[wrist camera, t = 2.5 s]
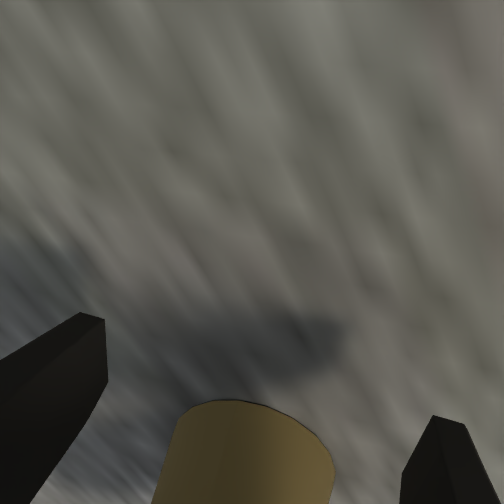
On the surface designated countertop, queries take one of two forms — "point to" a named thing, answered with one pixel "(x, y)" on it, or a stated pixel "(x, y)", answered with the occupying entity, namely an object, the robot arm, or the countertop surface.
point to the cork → (243, 459)
